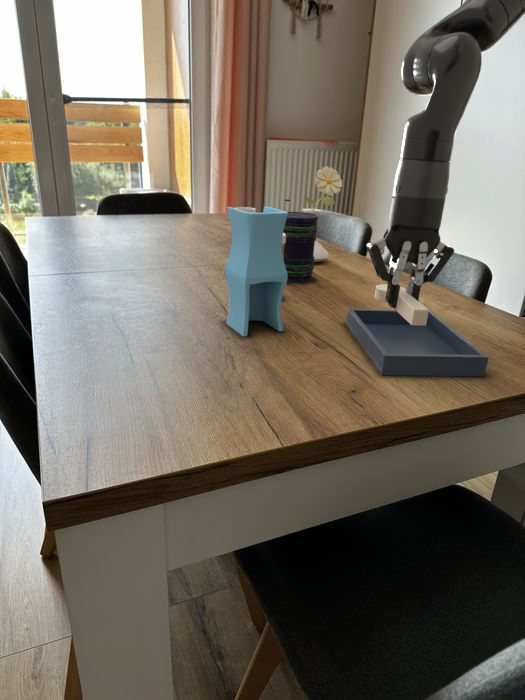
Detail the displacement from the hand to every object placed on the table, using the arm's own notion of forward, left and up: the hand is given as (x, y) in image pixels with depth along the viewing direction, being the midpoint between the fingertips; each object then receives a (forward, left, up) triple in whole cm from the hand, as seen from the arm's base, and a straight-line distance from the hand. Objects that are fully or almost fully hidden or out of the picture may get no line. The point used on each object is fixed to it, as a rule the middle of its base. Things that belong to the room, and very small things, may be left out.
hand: (400, 306), depth 81 cm
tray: (-3, 0, -7) cm, 8 cm away
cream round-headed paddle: (0, 0, 0) cm, 0 cm away
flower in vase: (+2, -64, -7) cm, 65 cm away
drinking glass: (+19, -92, -7) cm, 95 cm away
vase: (+22, -9, -7) cm, 25 cm away
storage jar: (+10, -44, -7) cm, 46 cm away
